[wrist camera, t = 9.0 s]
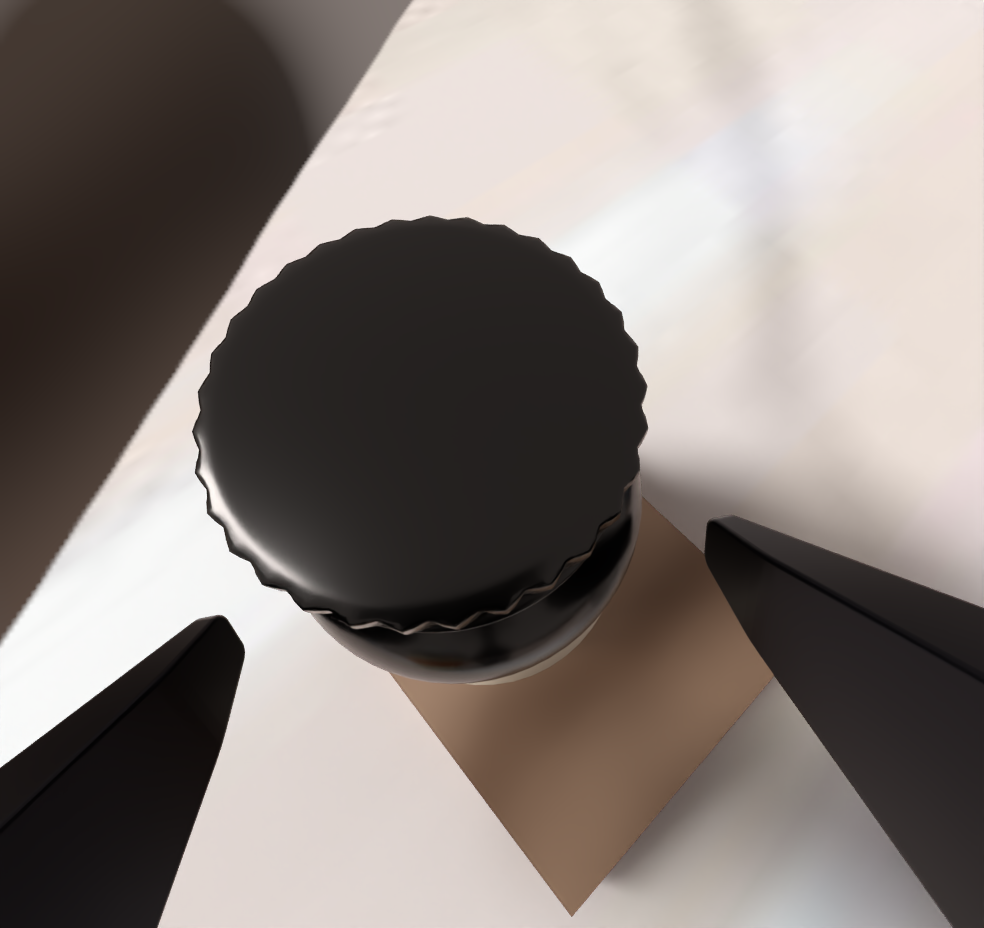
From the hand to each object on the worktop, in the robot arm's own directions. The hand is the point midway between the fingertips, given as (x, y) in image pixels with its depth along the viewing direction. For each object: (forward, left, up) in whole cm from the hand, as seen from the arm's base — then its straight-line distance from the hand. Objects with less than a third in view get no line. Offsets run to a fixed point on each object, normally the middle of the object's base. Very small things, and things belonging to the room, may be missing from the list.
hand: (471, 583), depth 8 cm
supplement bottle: (+1, -2, -8) cm, 8 cm away
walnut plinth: (+1, -2, -10) cm, 10 cm away
